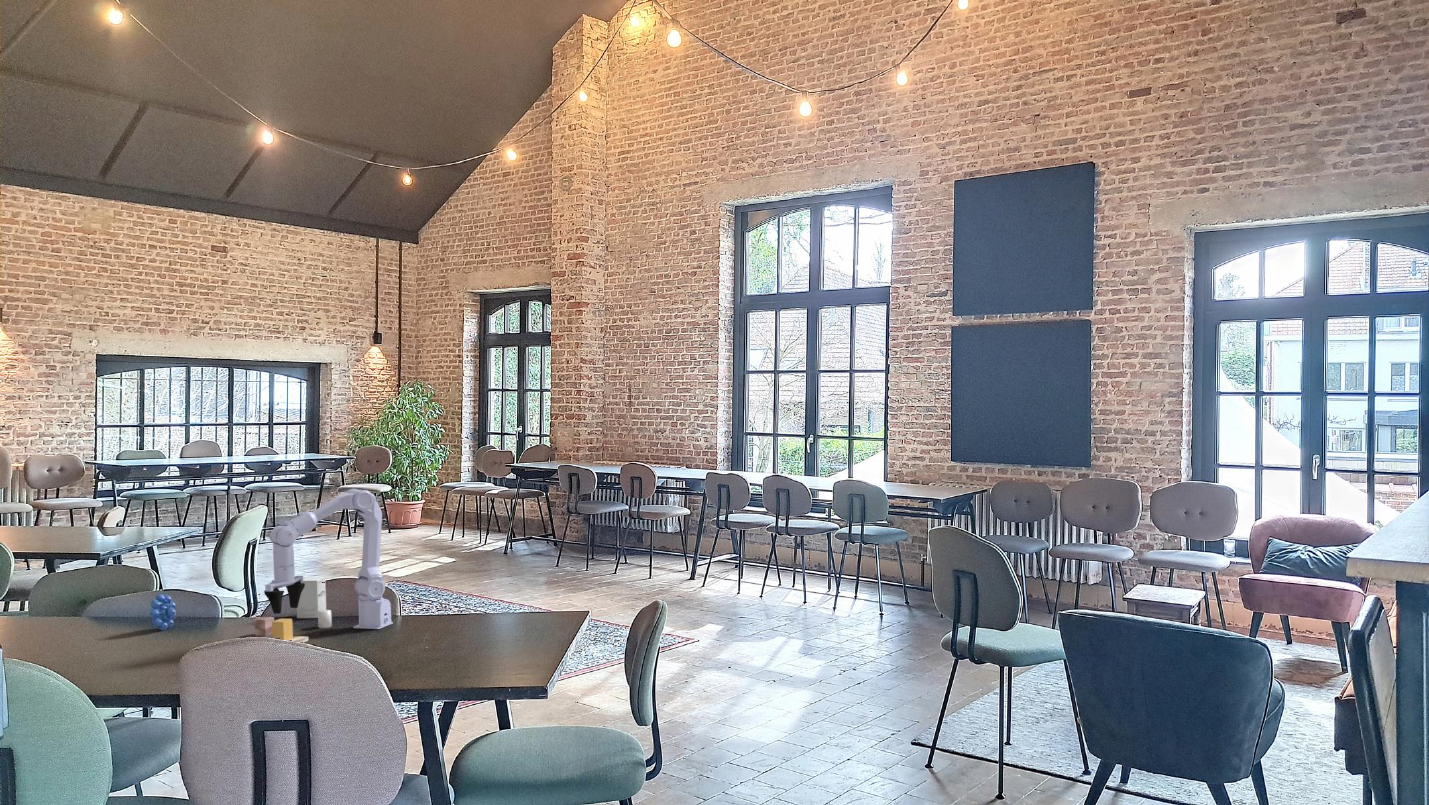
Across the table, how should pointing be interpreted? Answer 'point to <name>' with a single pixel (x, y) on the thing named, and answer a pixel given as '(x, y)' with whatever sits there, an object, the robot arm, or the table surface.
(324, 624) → the grey cylinder
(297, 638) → the ash board
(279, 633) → the ochre block
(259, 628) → the rose block
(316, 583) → the supplement box
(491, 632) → the table surface
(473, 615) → the table surface
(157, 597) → the grapes
